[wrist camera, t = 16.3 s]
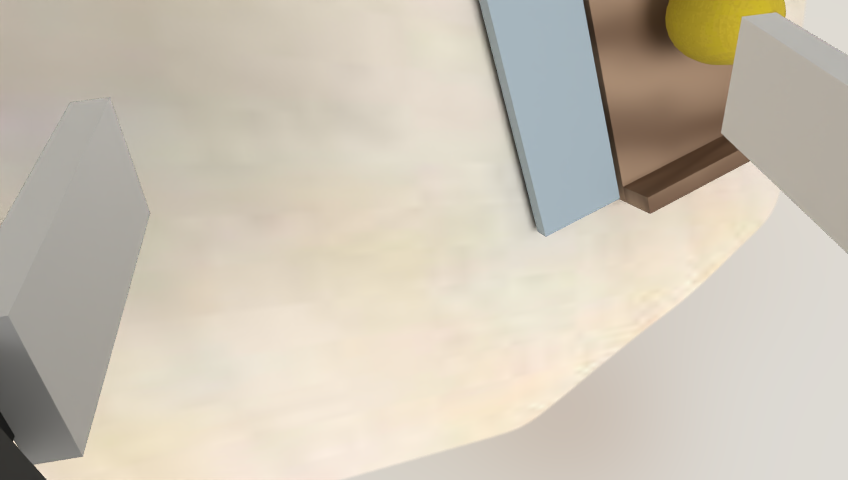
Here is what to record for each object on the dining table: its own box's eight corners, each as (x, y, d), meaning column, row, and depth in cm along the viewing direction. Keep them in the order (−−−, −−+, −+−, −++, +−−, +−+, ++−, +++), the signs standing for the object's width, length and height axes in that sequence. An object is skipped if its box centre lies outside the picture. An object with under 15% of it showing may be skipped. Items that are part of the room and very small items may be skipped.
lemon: (715, 30, 48) (821, 45, 42) (649, 70, 47) (746, 92, 40) (700, -53, 46) (809, -52, 39) (629, -12, 45) (729, -4, 38)
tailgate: (547, -135, 41) (453, -100, 39) (557, -137, 40) (461, -101, 39) (610, 194, 51) (537, 231, 49) (619, 198, 50) (545, 236, 49)
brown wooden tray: (546, -146, 41) (588, -154, 38) (714, -209, 44) (767, -221, 41) (612, 195, 52) (650, 213, 48) (744, 127, 54) (789, 139, 51)
